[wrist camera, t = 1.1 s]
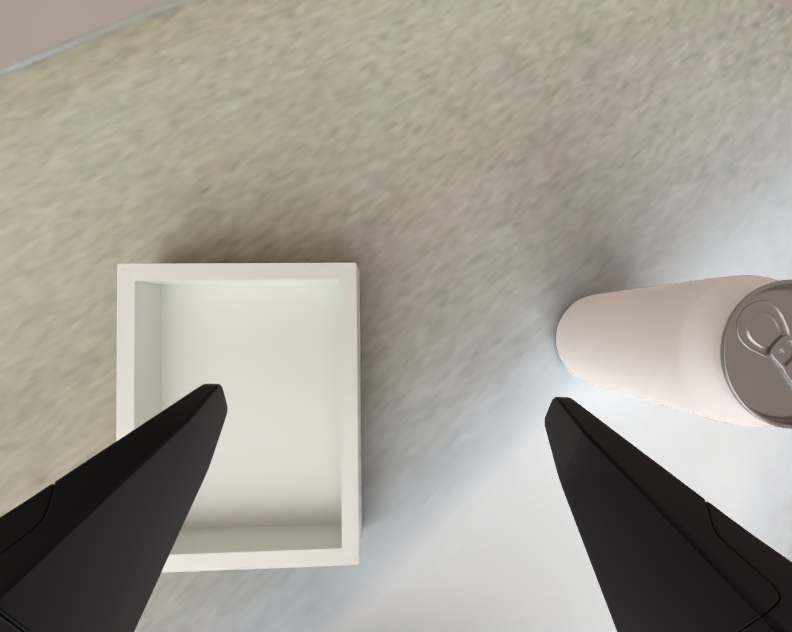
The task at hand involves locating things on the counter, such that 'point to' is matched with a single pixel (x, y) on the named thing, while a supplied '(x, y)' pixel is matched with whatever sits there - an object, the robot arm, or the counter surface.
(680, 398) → the can
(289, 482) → the tray
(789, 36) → the counter surface
